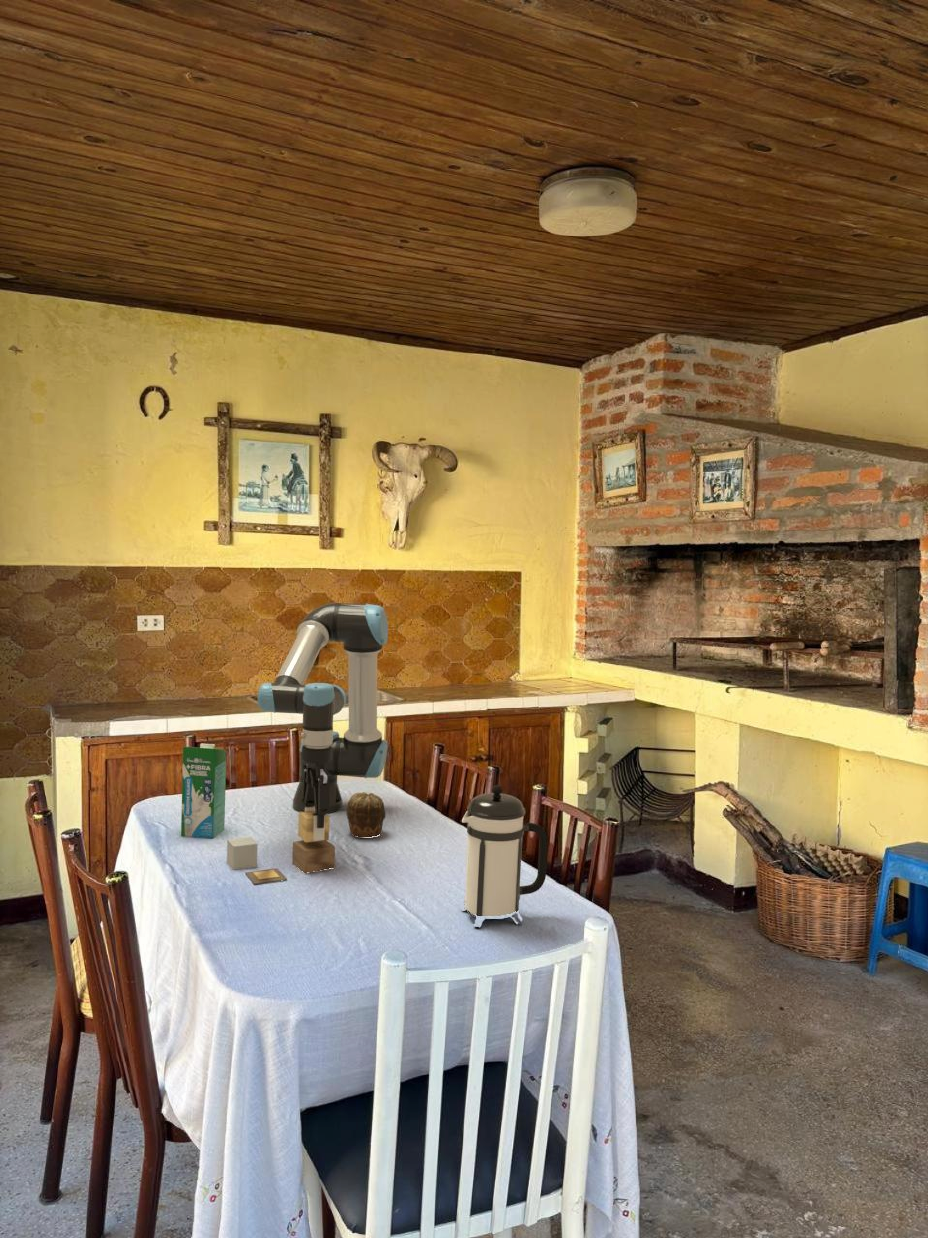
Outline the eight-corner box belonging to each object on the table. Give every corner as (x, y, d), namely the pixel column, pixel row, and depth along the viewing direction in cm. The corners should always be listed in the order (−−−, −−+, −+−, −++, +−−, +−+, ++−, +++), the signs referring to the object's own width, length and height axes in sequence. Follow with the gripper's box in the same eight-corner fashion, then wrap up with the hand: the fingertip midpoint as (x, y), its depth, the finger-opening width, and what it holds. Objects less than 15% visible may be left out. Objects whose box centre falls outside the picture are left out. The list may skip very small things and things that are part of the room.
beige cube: (250, 859, 235) (250, 836, 234) (256, 867, 229) (257, 843, 229) (226, 862, 232) (227, 839, 231) (232, 870, 226) (233, 846, 226)
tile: (277, 869, 228) (277, 867, 228) (287, 880, 221) (287, 877, 221) (245, 874, 224) (245, 871, 224) (254, 885, 217) (254, 882, 217)
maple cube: (320, 833, 234) (321, 810, 234) (328, 840, 229) (329, 816, 229) (298, 835, 232) (299, 812, 231) (305, 842, 226) (306, 818, 226)
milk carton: (224, 829, 258) (226, 741, 257) (212, 838, 249) (214, 748, 248) (193, 826, 259) (195, 739, 257) (180, 836, 250) (182, 746, 248)
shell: (338, 837, 255) (339, 795, 254) (357, 827, 265) (358, 786, 265) (372, 843, 251) (374, 800, 250) (390, 833, 261) (392, 791, 261)
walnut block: (321, 860, 237) (322, 837, 236) (334, 869, 230) (335, 846, 230) (292, 864, 232) (292, 841, 232) (304, 874, 226) (305, 851, 225)
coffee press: (508, 938, 193) (515, 799, 191) (444, 920, 201) (450, 785, 199) (545, 913, 208) (552, 783, 205) (485, 896, 216) (490, 771, 214)
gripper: (290, 739, 235) (287, 827, 237) (315, 754, 219) (312, 849, 220) (318, 737, 239) (315, 824, 241) (345, 752, 222) (341, 845, 224)
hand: (314, 836), depth 230 cm, fingers closed on maple cube, 6 cm apart
